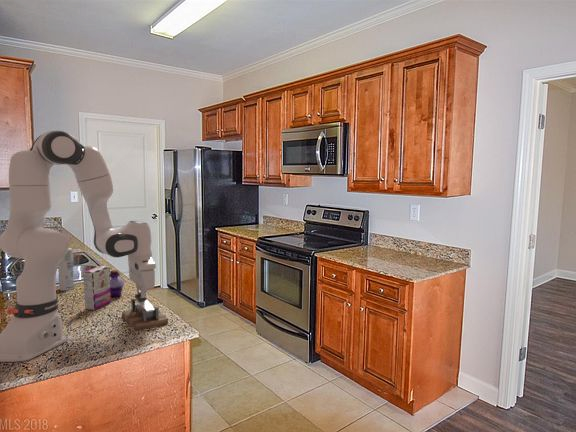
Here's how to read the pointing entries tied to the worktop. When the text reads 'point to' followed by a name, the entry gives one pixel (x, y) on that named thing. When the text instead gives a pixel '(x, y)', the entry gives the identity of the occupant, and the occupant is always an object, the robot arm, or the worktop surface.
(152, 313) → the block
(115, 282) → the potion bottle
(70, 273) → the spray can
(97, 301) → the candy bar box
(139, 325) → the walnut base plate
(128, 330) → the worktop surface
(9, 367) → the worktop surface
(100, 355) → the worktop surface
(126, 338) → the worktop surface
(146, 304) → the clamp bar
